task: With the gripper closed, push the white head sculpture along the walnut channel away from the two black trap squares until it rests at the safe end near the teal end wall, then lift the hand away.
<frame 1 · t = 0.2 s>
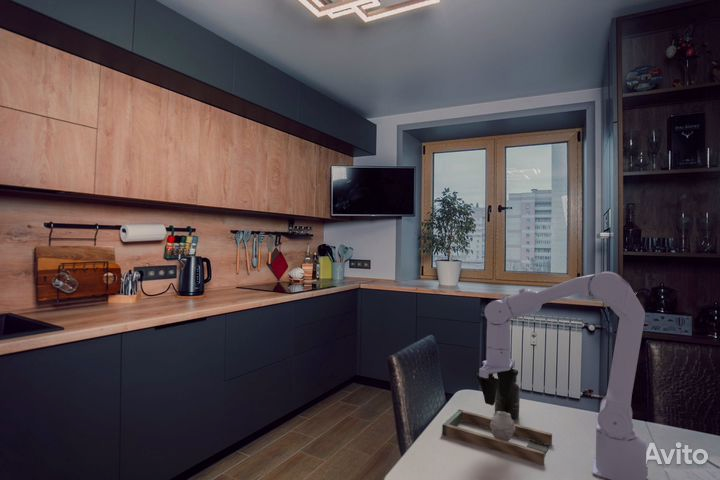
hand: (497, 400, 102), 10 cm above the table, tool pointing down, fingers open, 7 cm apart
supplement bottle: (506, 416, 116), on the table
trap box: (498, 439, 101), on the table
white head sculpture: (502, 441, 101), on the table
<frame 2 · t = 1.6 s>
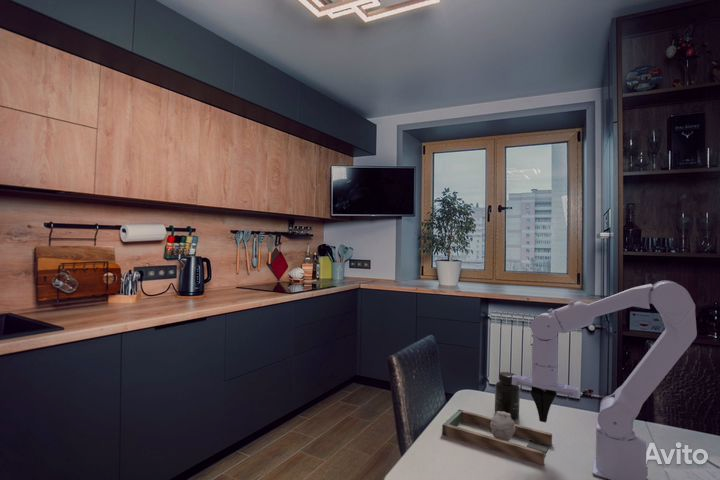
hand: (543, 420, 96), 8 cm above the table, tool pointing down, fingers closed
nothing on the table moved.
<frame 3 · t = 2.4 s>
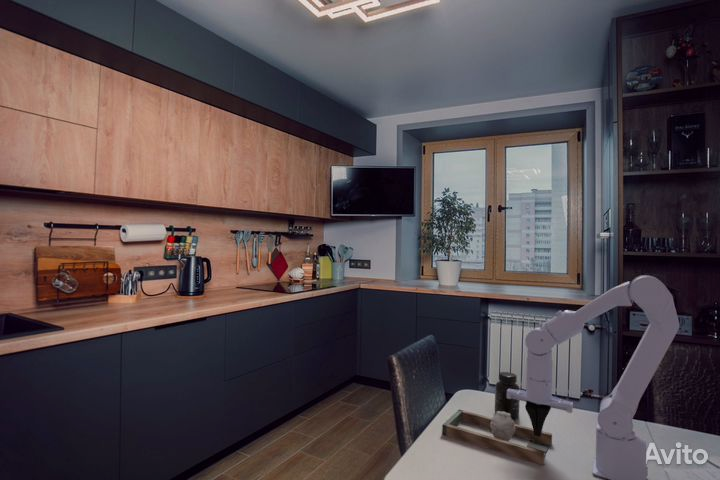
hand: (537, 434, 96), 4 cm above the table, tool pointing down, fingers closed
nothing on the table moved.
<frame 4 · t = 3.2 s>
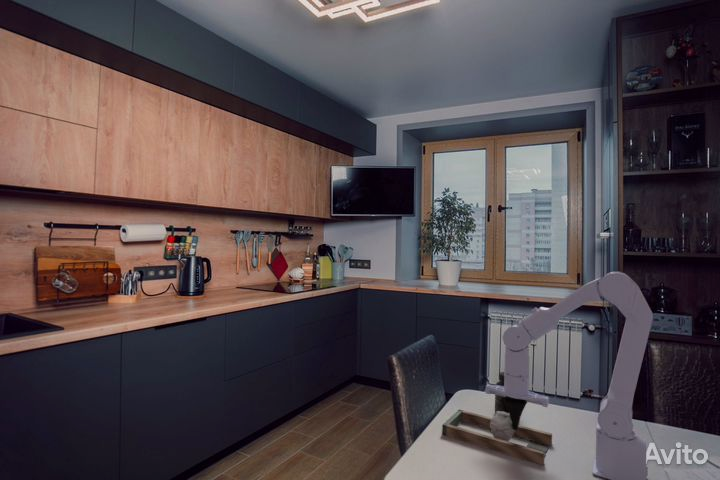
hand: (515, 428, 99), 4 cm above the table, tool pointing down, fingers closed, pressing on white head sculpture
white head sculpture: (501, 441, 101), on the table, touching gripper
everything else where it was.
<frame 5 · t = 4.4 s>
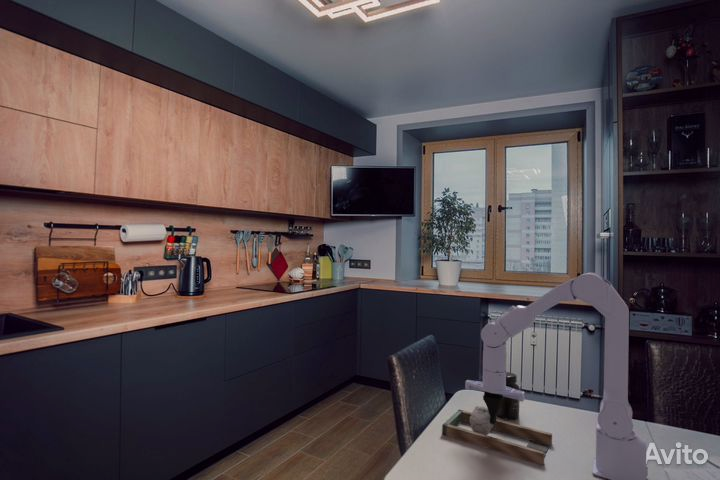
hand: (493, 422, 102), 4 cm above the table, tool pointing down, fingers closed, pressing on white head sculpture
white head sculpture: (481, 435, 104), on the table, touching gripper
everything else where it was.
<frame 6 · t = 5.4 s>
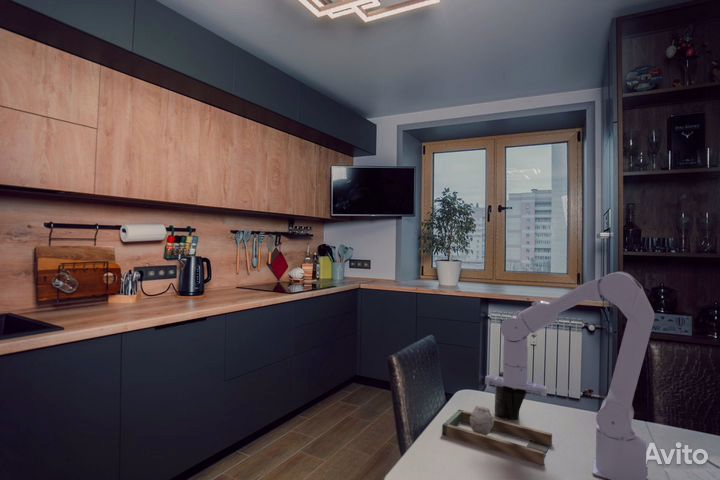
hand: (514, 418, 101), 6 cm above the table, tool pointing down, fingers closed
white head sculpture: (481, 435, 104), on the table
everything else where it was.
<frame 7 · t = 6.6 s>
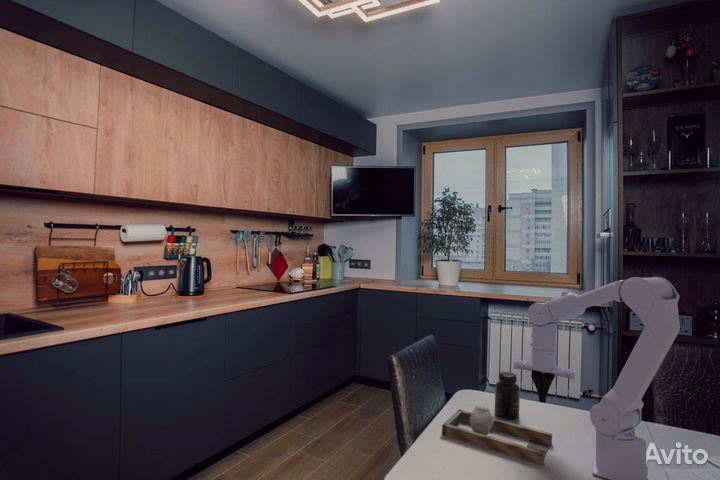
hand: (542, 401, 103), 9 cm above the table, tool pointing down, fingers closed
nothing on the table moved.
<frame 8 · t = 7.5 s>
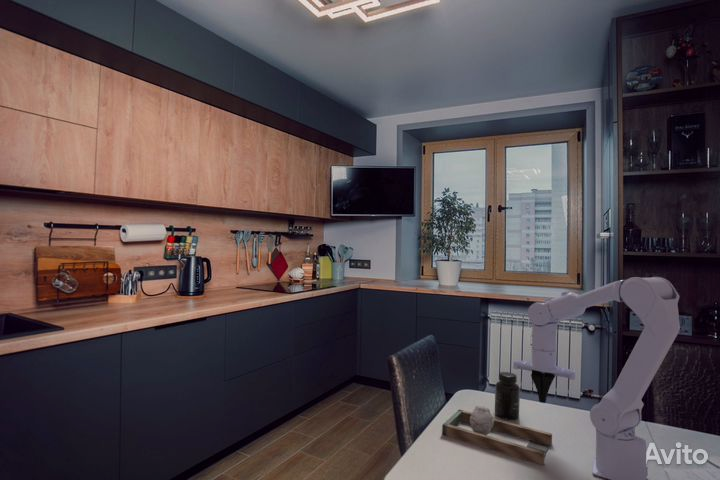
hand: (542, 401, 103), 9 cm above the table, tool pointing down, fingers closed
nothing on the table moved.
at the end: white head sculpture 2.7 cm from the target spot on the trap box, point 0.0 cm above the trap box's base; white head sculpture tilted 0° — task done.
